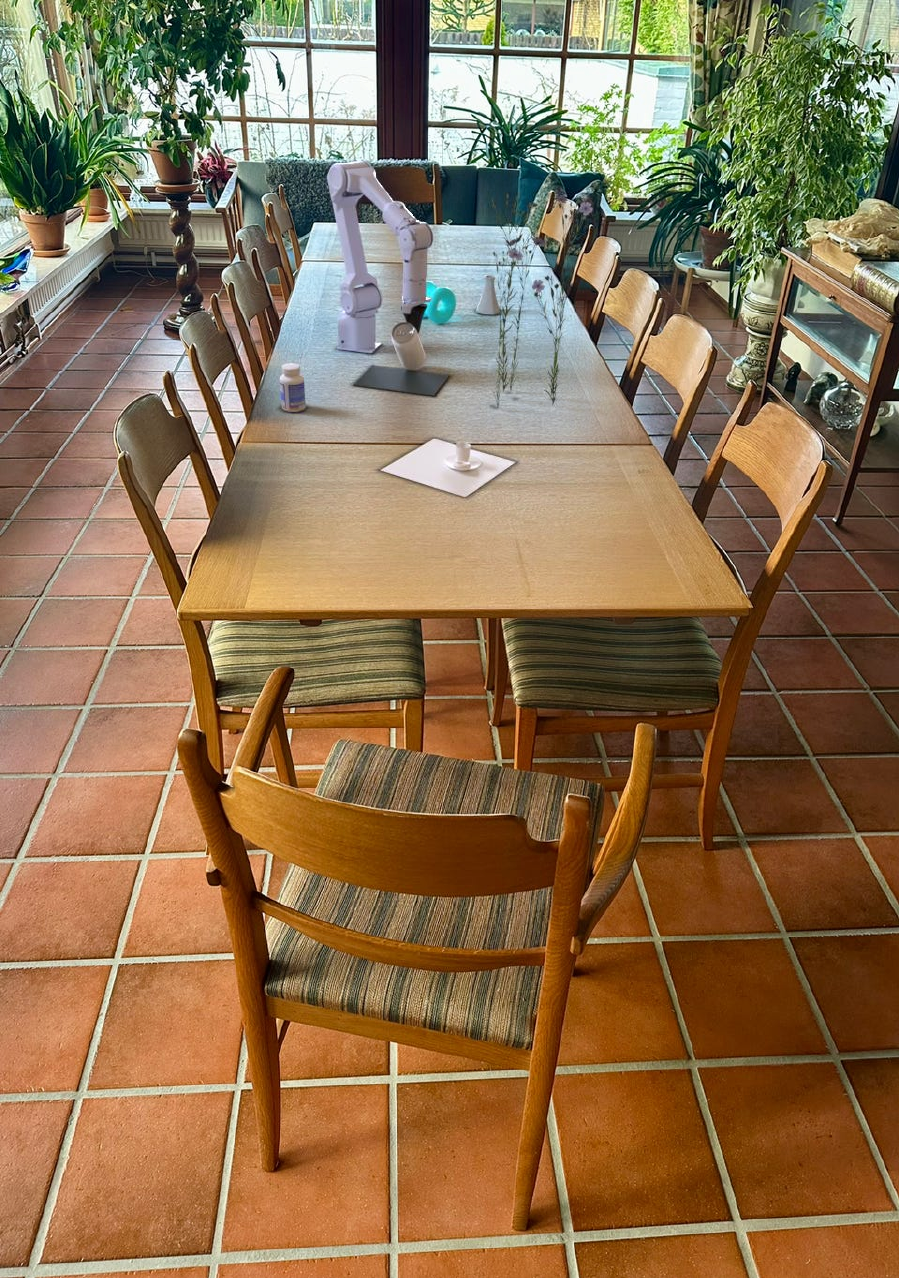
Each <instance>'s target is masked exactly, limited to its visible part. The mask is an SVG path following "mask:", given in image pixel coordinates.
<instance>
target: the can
mask: <svg viewBox="0 0 899 1278" xmlns="http://www.w3.org/2000/svg"><path fill="white" fill-rule="evenodd" d="M390 339H391V342H392V345H393V347H394V349H395V352H396V355H397V357H398V359H399V361H400V364H401V365H402V367H403V369H405V370H412V371H417V370H418V369H420V368H421V367H423V366H424V364H425V362H426V360H427V355H426V351H425V350H424V347H423V343H422V341H421V338H420V336H419V335H418V333H417V330H416V329H415V328H414V327H413V326H412V325H411V324H410V323H408V322H406V321H402V322H398V323H397V324H395V325H394V327H393V328H392V330H391V337H390Z"/></svg>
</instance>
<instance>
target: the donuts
mask: <svg viewBox="0 0 899 1278" xmlns="http://www.w3.org/2000/svg"><path fill="white" fill-rule="evenodd" d="M426 295H427V297H430V298H431V301H430V302H425V303H423V304H427V309H426V311H425V313H424V315H423V318H428V319H429V320H430V321H431V322H432V323H434V324H441V325H442V324H444V323H447V322H448V321H449V320H450V319H451V318H453V315H454V313H455V311H456V306H457V298H456V295H455V293H454V291H453V290H452V289H451V288H449V287H447V286H439V287H438V286H437V284H435V282H433V281H430V280H427V291H426ZM440 303H441V304H440ZM439 304H440V306H439Z"/></svg>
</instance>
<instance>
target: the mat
mask: <svg viewBox="0 0 899 1278" xmlns="http://www.w3.org/2000/svg"><path fill="white" fill-rule="evenodd" d="M449 378H450V375H449V374H442V373H434V372H428V371H420V370H408V369H405V368H396V367H389V366H381V365H374V364H373V365H371V366H370V367H369V368H368V369H367V370H366V371H365V372H364V373H363V374H362V375H361V376H360V377H359V378H358V380H356V381H355V382H354V383H353V387H359V388H366V389H374V390H381V391H388V392H394V393H395V392H396V393H403V394H411V395H419V396H426V397H433V398H434V397H435V396H436V395H437V394H438V392H439V391H440V390H441V388H442V387H443V386H444V384H446V382H447V380H448V379H449Z"/></svg>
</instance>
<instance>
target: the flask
mask: <svg viewBox="0 0 899 1278" xmlns="http://www.w3.org/2000/svg"><path fill="white" fill-rule="evenodd" d="M484 280H485V283H484V287H483V291H482V294H481V296H480V299H479V301H478V304H477V306H476V310H475V312H476V313H479V314H481V315H497V314H500V312H499V310H500V308H499V307H500V303H499V301H498V296H497V293H496V288H495V280H496V276H495V275H492V274H490V275H489V274H486V275H484Z"/></svg>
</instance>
